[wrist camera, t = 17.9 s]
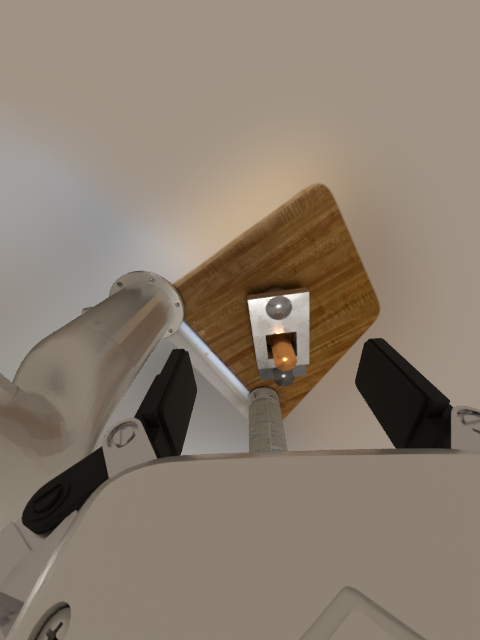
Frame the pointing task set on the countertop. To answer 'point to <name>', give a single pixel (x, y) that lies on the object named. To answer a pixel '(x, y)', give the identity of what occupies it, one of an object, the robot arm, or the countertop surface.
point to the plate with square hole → (280, 321)
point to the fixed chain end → (282, 376)
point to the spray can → (265, 422)
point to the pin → (283, 351)
